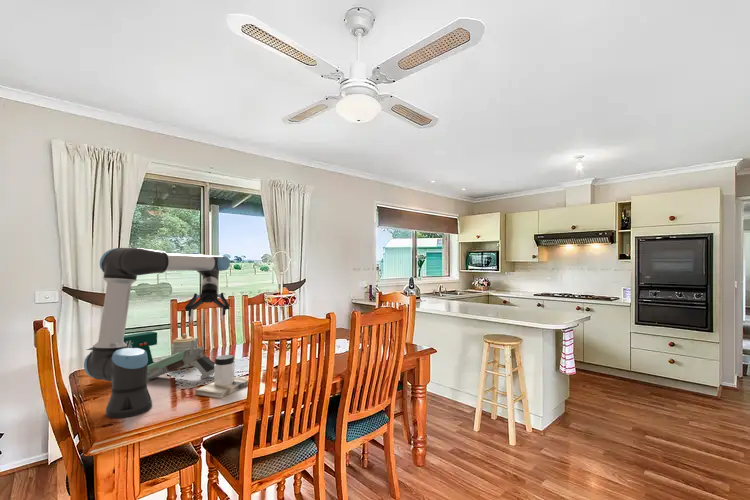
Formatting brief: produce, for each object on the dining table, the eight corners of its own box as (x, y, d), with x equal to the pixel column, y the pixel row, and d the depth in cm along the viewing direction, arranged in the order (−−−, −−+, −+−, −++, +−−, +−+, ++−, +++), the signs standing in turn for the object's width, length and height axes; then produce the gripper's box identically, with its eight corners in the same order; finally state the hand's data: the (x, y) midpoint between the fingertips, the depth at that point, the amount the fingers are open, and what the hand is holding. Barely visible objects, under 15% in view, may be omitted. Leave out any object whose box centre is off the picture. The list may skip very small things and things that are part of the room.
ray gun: (215, 374, 183) (200, 336, 183) (153, 400, 181) (138, 362, 181) (220, 369, 190) (206, 333, 190) (161, 394, 188) (146, 358, 189)
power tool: (88, 386, 173) (89, 343, 174) (81, 384, 177) (82, 342, 177) (158, 369, 200) (158, 332, 201) (151, 367, 204) (151, 331, 204)
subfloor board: (220, 398, 159) (220, 393, 159) (195, 394, 163) (195, 389, 163) (250, 383, 178) (250, 379, 178) (227, 380, 182) (227, 376, 182)
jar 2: (238, 381, 174) (238, 355, 174) (225, 387, 167) (225, 360, 167) (223, 379, 178) (223, 354, 178) (210, 384, 170) (210, 358, 170)
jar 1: (172, 363, 212) (173, 332, 212) (197, 361, 216) (198, 330, 217) (168, 369, 200) (169, 336, 200) (195, 367, 204) (195, 335, 204)
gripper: (235, 291, 201) (234, 323, 186) (184, 292, 193) (178, 326, 178) (235, 282, 196) (233, 314, 181) (182, 283, 188) (176, 317, 173)
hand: (206, 320), depth 180 cm, fingers open, 13 cm apart
